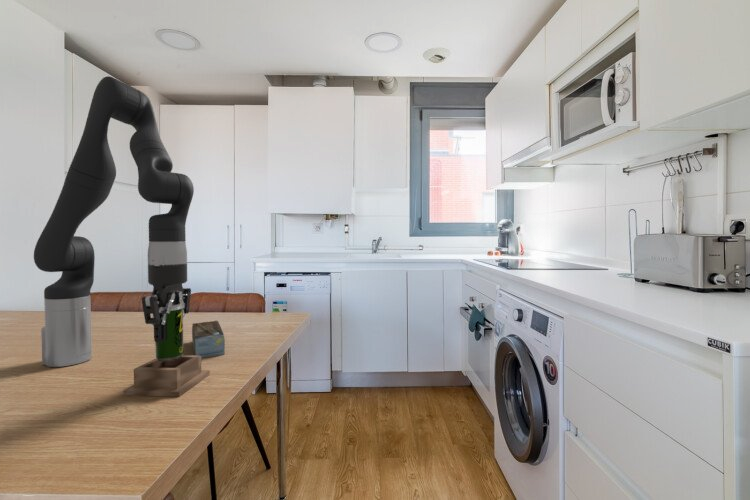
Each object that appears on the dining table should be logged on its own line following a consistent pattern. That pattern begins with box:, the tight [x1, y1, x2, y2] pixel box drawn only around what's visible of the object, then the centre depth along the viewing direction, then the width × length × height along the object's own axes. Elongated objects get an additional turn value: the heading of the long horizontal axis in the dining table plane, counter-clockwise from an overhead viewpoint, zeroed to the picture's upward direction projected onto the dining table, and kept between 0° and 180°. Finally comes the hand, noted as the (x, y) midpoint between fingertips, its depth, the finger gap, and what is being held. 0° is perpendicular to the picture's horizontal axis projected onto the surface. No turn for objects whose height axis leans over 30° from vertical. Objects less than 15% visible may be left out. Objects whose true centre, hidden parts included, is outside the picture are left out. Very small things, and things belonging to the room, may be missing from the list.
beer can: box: [154, 303, 184, 361], centre depth 79 cm, size 5×5×12 cm
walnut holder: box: [122, 354, 211, 398], centre depth 79 cm, size 12×12×5 cm
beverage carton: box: [191, 320, 226, 359], centre depth 106 cm, size 8×19×7 cm, turn 29°
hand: (169, 337), depth 79 cm, fingers closed on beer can, 5 cm apart
